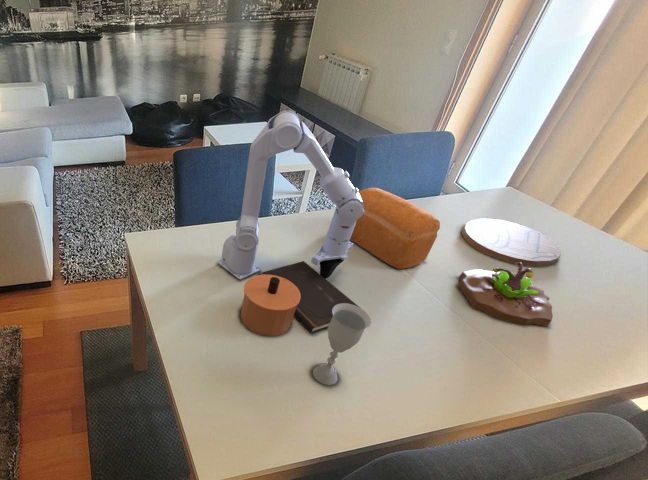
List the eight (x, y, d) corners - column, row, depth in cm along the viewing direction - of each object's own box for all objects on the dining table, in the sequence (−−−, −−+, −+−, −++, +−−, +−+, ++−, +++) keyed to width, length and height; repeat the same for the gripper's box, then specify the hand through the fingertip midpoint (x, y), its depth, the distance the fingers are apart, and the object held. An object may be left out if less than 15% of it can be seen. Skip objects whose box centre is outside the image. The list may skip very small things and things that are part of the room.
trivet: (551, 236, 131) (555, 231, 130) (562, 276, 115) (567, 271, 114) (462, 216, 142) (465, 211, 140) (461, 250, 125) (464, 245, 124)
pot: (230, 312, 103) (235, 287, 98) (265, 296, 108) (271, 271, 103) (265, 343, 95) (272, 317, 89) (301, 323, 100) (309, 298, 95)
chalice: (303, 363, 90) (325, 304, 79) (332, 361, 91) (358, 302, 79) (316, 390, 84) (343, 330, 73) (347, 387, 85) (378, 328, 74)
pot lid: (232, 289, 98) (234, 274, 95) (270, 271, 104) (274, 257, 101) (272, 321, 89) (276, 306, 86) (311, 300, 95) (316, 285, 92)
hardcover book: (301, 267, 118) (303, 260, 117) (360, 316, 102) (363, 310, 100) (256, 279, 114) (257, 273, 112) (310, 334, 97) (312, 327, 96)
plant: (468, 314, 102) (491, 280, 95) (451, 270, 117) (471, 238, 110) (562, 333, 97) (595, 299, 90) (533, 285, 111) (559, 252, 104)
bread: (396, 272, 116) (419, 225, 106) (331, 229, 135) (345, 186, 125) (429, 261, 120) (454, 215, 110) (361, 221, 139) (377, 178, 129)
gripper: (333, 251, 99) (318, 293, 107) (369, 234, 105) (352, 275, 113) (310, 238, 103) (298, 279, 112) (346, 223, 109) (331, 263, 118)
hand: (324, 276), depth 113 cm, fingers closed
